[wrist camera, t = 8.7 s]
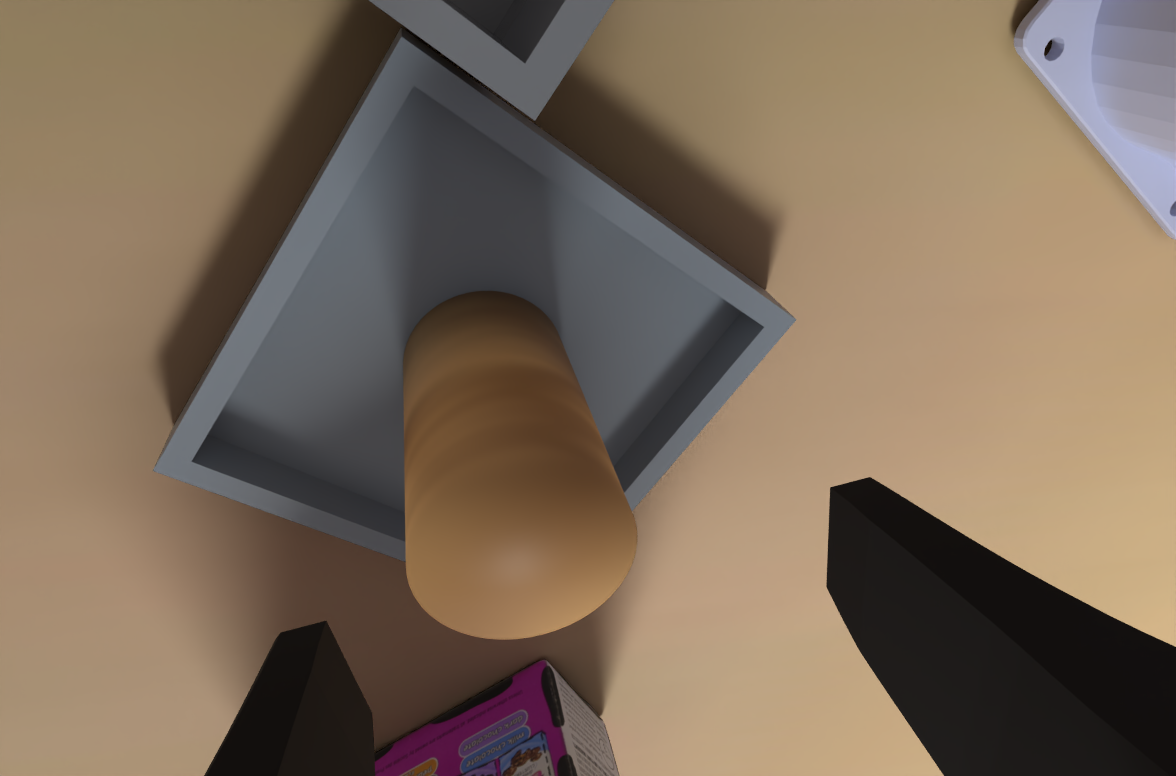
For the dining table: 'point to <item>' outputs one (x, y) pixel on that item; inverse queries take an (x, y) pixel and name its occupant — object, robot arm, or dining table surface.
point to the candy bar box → (508, 734)
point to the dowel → (505, 475)
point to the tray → (442, 271)
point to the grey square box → (505, 40)
